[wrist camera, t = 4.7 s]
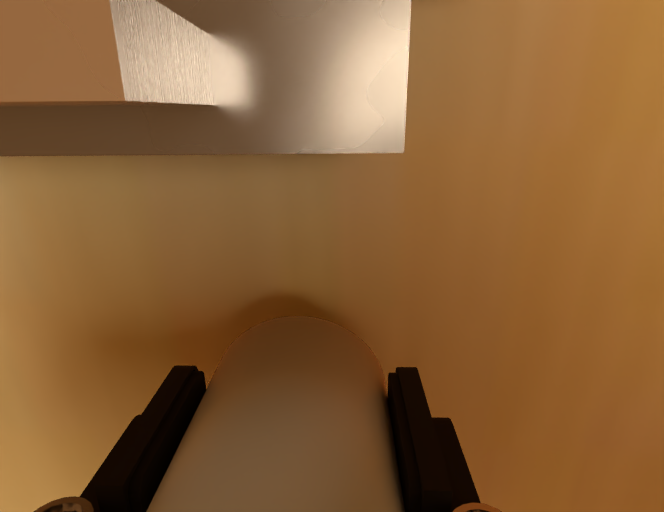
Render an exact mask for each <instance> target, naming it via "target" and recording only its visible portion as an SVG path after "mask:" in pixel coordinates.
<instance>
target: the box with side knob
mask: <svg viewBox="0 0 664 512" xmlns="http://www.w3.org/2000/svg"><path fill="white" fill-rule="evenodd" d="M410 18H411V0H0V156H89V155H212V154H334V153H404V144H405V123H406V102H407V81H408V60H409V39H410Z"/></svg>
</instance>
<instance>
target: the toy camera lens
mask: <svg viewBox="0 0 664 512" xmlns="http://www.w3.org/2000/svg"><path fill="white" fill-rule="evenodd" d="M146 512H405V507H404V501H403V494H402V488H401V482H400V475H399V469H398V462H397V456H396V450H395V443H394V437H393V431H392V424H391V418H390V412H389V405H388V399H387V391H386V385H385V379H384V374H383V372H382V369H381V366H380V364H379V362H378V360H377V358H376V356H375V355H374V354H373V352H372V351H371V349H370V348H369V347H368V346H367V345H366V344H365V343H364V342H363V341H362V340H361V339H360V338H359V337H357V336H356V335H355V334H354V333H352V332H350V331H349V330H347V329H345V328H344V327H342V326H340V325H337V324H335V323H333V322H330V321H327V320H323V319H319V318H314V317H306V316H288V317H281V318H275V319H272V320H268V321H265V322H262V323H260V324H258V325H256V326H253V327H252V328H250V329H249V330H247V331H245V332H244V333H243V334H241V335H240V336H239V337H238V338H237V339H236V340H235V341H234V342H233V343H232V344H231V345H230V346H229V348H228V349H227V351H226V352H225V354H224V355H223V357H222V359H221V361H220V363H219V365H218V367H217V369H216V371H215V373H214V375H213V377H212V379H211V381H210V384H209V386H208V388H207V390H206V392H205V394H204V396H203V398H202V400H201V402H200V404H199V406H198V408H197V410H196V412H195V414H194V416H193V418H192V420H191V422H190V424H189V426H188V428H187V430H186V432H185V434H184V436H183V438H182V440H181V442H180V444H179V446H178V448H177V450H176V452H175V455H174V457H173V459H172V461H171V463H170V465H169V467H168V469H167V471H166V473H165V475H164V477H163V479H162V481H161V483H160V485H159V487H158V489H157V491H156V493H155V495H154V497H153V499H152V501H151V503H150V505H149V507H148V509H147V511H146Z"/></svg>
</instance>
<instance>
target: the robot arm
mask: <svg viewBox="0 0 664 512" xmlns="http://www.w3.org/2000/svg"><path fill="white" fill-rule="evenodd" d="M205 392H206V385H205V376H204V373H203V371H198V369H197V367H196V366H174V367H173V368H172V370H171V371H170V373H169V374H168V376H167V377H166V379H165V380H164V382H163V383H162V385H161V386H160V388H159V389H158V391H157V392H156V394H155V395H154V397H153V398H152V400H151V401H150V403H149V404H148V406H147V407H146V409H145V410H144V412H143V413H142V415H137V416H136V417H135V418H134V419H133V420H132V421H131V423H130V424H129V426H128V427H127V429H126V430H125V432H124V433H123V434H122V436H121V437H120V439H119V440H118V442H117V443H116V445H115V446H114V448H113V449H112V450H111V452H110V453H109V455H108V456H107V458H106V459H105V461H104V462H103V464H102V465H101V467H100V468H99V469H98V471H97V472H96V474H95V475H94V477H93V478H92V480H91V481H90V483H89V484H88V486H87V487H86V488H85V490H84V491H83V493H82V494H81V496H80V497H76V496H75V497H64V498H61V499H58V500H54V501H51V502H49V503H47V504H45V505H44V506H42V507H40V508H38V509H37V510H35V511H34V512H146V511H147V509H148V507H149V505H150V503H151V501H152V499H153V497H154V495H155V493H156V491H157V489H158V487H159V485H160V483H161V481H162V479H163V477H164V475H165V473H166V471H167V469H168V467H169V465H170V463H171V461H172V459H173V457H174V455H175V452H176V450H177V448H178V446H179V444H180V442H181V440H182V438H183V436H184V434H185V432H186V430H187V428H188V426H189V424H190V422H191V420H192V418H193V416H194V414H195V412H196V410H197V408H198V406H199V404H200V402H201V400H202V398H203V396H204V394H205ZM387 399H388V405H389V412H390V418H391V424H392V431H393V437H394V443H395V450H396V456H397V462H398V469H399V475H400V482H401V488H402V494H403V501H404V507H405V512H502V511H500V510H499V509H497V508H495V507H492V506H489V505H487V504H482V503H480V500H479V497H478V494H477V491H476V489H475V486H474V483H473V480H472V477H471V474H470V472H469V469H468V466H467V463H466V460H465V457H464V455H463V452H462V449H461V446H460V443H459V440H458V438H457V435H456V432H455V429H454V426H453V424H452V421H451V419H450V418H432V417H431V414H430V410H429V407H428V404H427V400H426V397H425V393H424V390H423V386H422V383H421V380H420V376H419V373H418V370H417V368H416V367H397V368H396V373H389V375H388V397H387Z"/></svg>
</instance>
